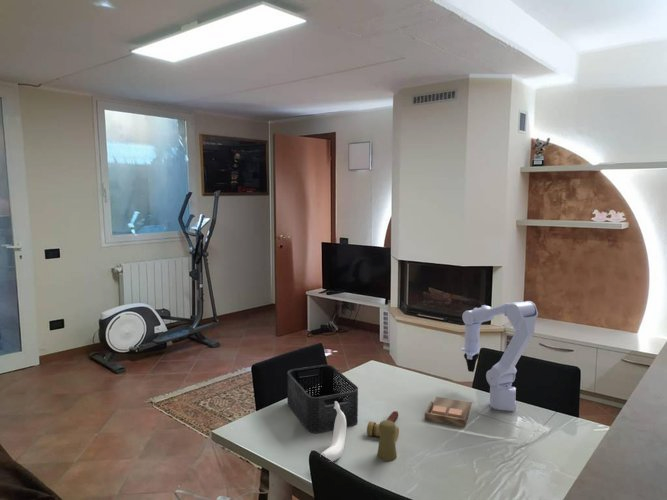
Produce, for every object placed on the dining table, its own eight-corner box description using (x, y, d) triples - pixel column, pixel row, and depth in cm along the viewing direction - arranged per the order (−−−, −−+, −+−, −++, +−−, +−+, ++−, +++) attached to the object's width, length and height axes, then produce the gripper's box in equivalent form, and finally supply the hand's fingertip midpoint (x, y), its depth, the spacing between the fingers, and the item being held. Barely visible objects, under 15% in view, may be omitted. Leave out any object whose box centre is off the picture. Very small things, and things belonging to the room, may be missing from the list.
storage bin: (361, 425, 165) (361, 388, 164) (310, 435, 158) (310, 397, 156) (329, 394, 191) (329, 363, 190) (285, 402, 184) (284, 370, 182)
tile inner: (462, 416, 169) (462, 410, 169) (460, 422, 165) (460, 415, 165) (449, 414, 171) (450, 408, 171) (447, 419, 167) (448, 413, 167)
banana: (320, 471, 136) (319, 423, 135) (334, 439, 155) (334, 397, 153) (336, 473, 135) (336, 425, 134) (348, 441, 154) (348, 398, 152)
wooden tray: (472, 404, 182) (472, 396, 181) (464, 429, 162) (465, 420, 161) (436, 398, 187) (436, 390, 187) (424, 421, 167) (424, 413, 167)
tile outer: (446, 413, 172) (447, 407, 171) (444, 419, 168) (444, 412, 167) (434, 411, 173) (434, 405, 173) (432, 416, 169) (432, 410, 169)
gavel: (384, 403, 176) (410, 408, 172) (384, 415, 176) (410, 420, 172) (366, 424, 156) (395, 429, 153) (366, 437, 157) (395, 443, 153)
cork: (396, 451, 147) (396, 418, 146) (397, 461, 141) (397, 427, 140) (377, 450, 148) (377, 417, 147) (377, 460, 142) (377, 426, 141)
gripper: (464, 333, 198) (463, 364, 200) (459, 342, 185) (458, 375, 187) (481, 335, 196) (480, 366, 197) (477, 344, 182) (476, 378, 184)
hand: (471, 371), depth 192 cm, fingers closed
